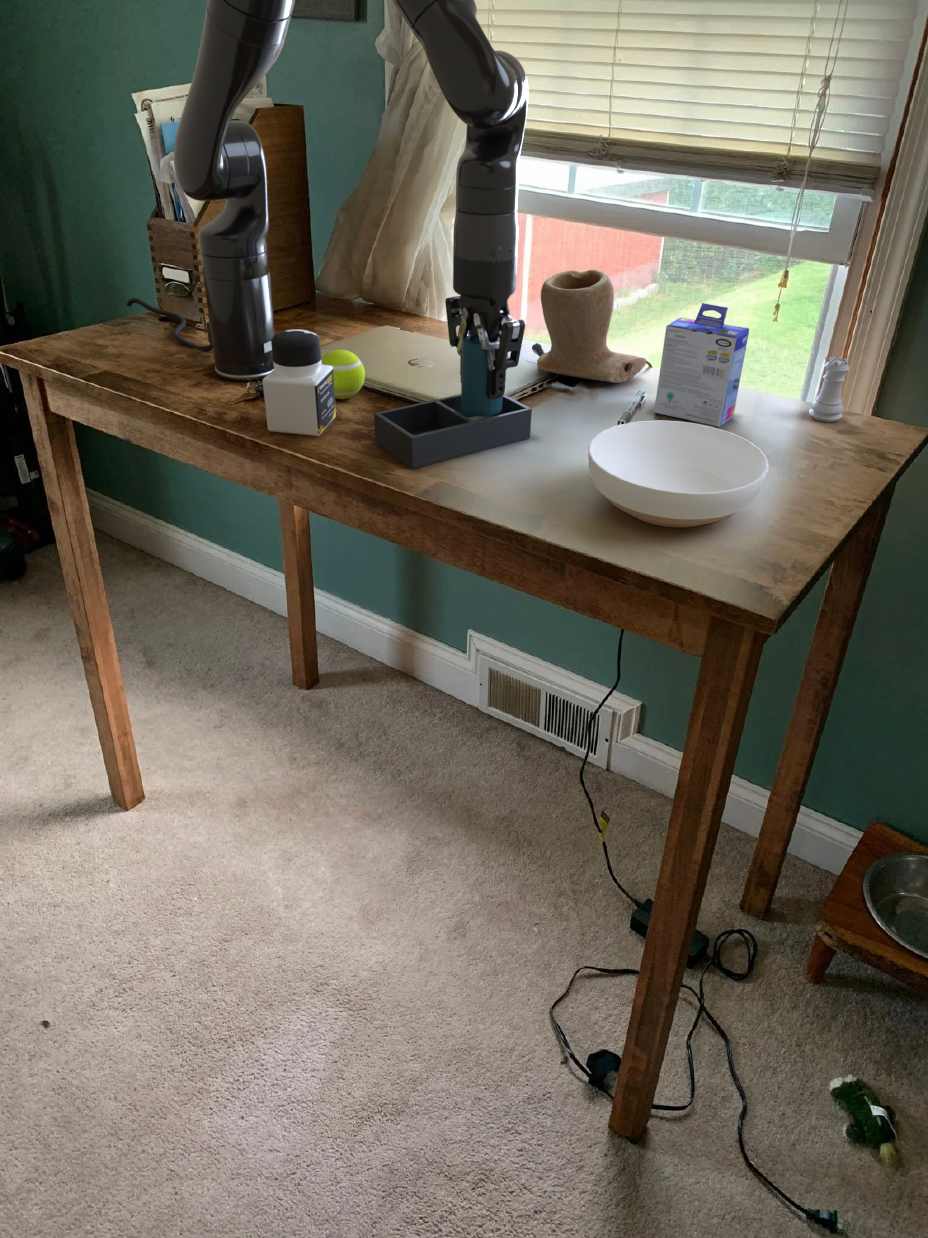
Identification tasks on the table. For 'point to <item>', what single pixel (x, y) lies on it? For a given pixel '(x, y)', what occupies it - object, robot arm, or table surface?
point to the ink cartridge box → (701, 368)
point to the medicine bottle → (298, 385)
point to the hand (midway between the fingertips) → (481, 390)
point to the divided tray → (448, 430)
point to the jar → (476, 379)
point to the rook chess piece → (830, 392)
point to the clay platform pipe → (583, 328)
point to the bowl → (676, 471)
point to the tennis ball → (345, 372)
